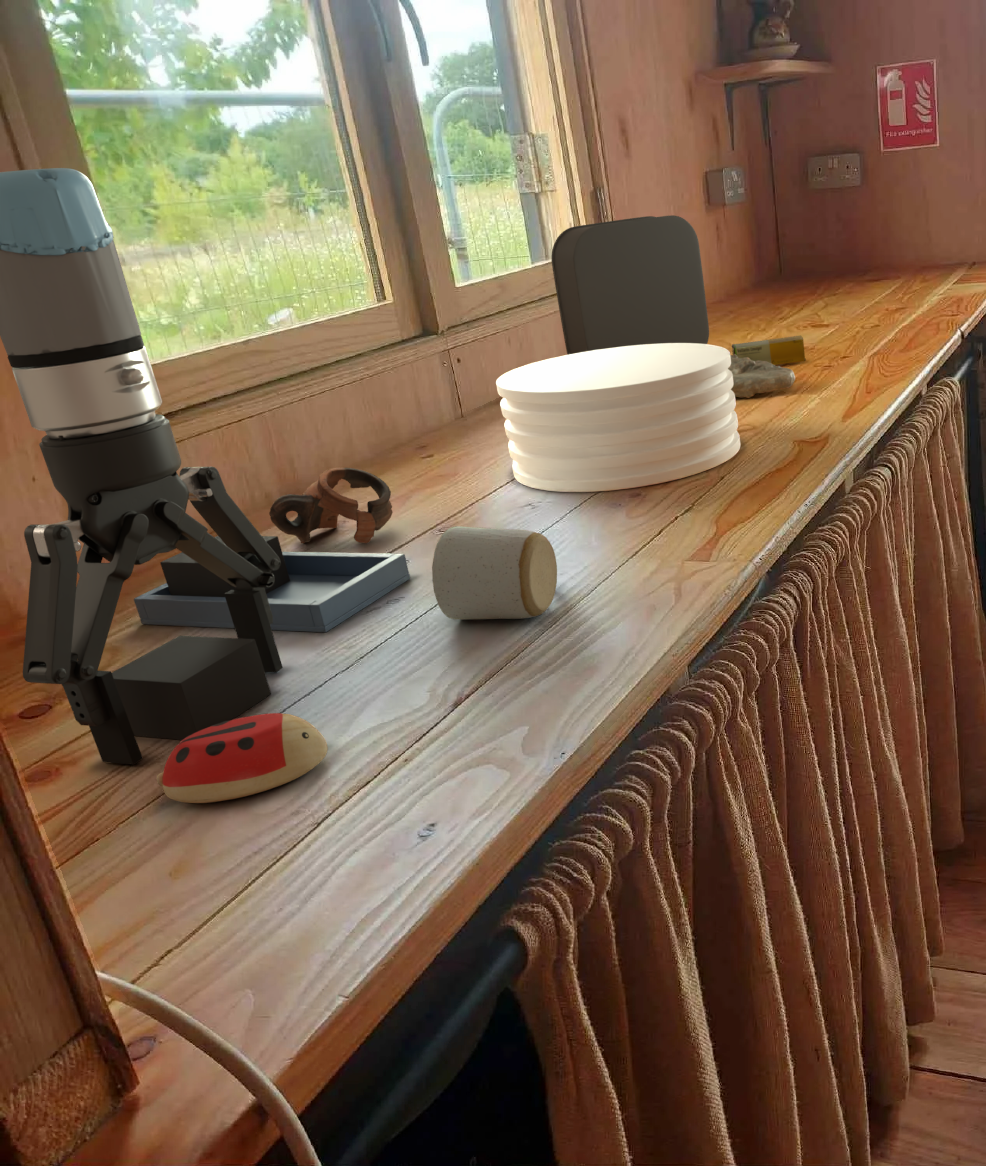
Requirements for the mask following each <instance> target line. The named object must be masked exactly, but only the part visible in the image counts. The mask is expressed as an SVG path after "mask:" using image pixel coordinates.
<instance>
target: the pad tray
mask: <svg viewBox="0 0 986 1166" xmlns="http://www.w3.org/2000/svg"><path fill="white" fill-rule="evenodd" d="M282 553H283V557H284V560H285V564H286V568H287V571H288V575H289V578H290V581H289V582H287V583H285V584H284V585H282V586H280V587H278V588H276V589H275V590H273V591H271V592H269V593H267V594H266V595H267V598H268V602H269V605H270V608H271V612H272V615H273V623H272V624H270V626H271V630H272V631H287V632H288V631H290V632H307V633H308V632H309V633H310V632H311V633H328V632H329V631H331V630H332V629H334V628H335V627H337V626H338V625H339V624H341V623H343V622H345V621H347V619H349V618H351V617H352V616H354V615H355V614H357V613H359V612H360V611H362V610H363V609H365V608H366V607H369V605H371V604H373V603H374V602H376V601H378V600H379V599H380V598H382V597H384V596H385V595H387V594H388V593H389V592H392V591H393V590H395V589H396V588H398V587H400V586H401V585H402V584H405V583H406V582H407V581H409V580H410V579H411V575H410V572H409V567H408V563H407V560H406V559H407V558H406V555H405V553H381V552H330V551H329V552H327V551H326V552H325V551H324V552H323V551H322V552H320V551H282ZM133 602H134V605H135V607H136V610H137V614H138V616H139V620H140V623H141V625H149V626H150V625H153V626H154V625H155V626H175V627H177V626H178V627H196V628H199V627H200V628H217V629H219V628H221V629H235V627H234V624H233V621H232V618H231V615H230V611H229V608H228V605H227V602H226V599H225V597H203V596H173V595H171V594H170V591H169V588H168V585H167V582H165V583H163V584H161V585H159V586H156V587H155V588H152V589H151V590H148V591H147V592H145V593H142V594H140V595H138V596H136V597H133Z"/></svg>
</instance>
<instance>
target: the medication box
mask: <svg viewBox="0 0 986 1166" xmlns="http://www.w3.org/2000/svg"><path fill="white" fill-rule="evenodd" d="M804 343H805V342H804V337H803V336H802V335H794V336H793V335H792V336H786V337H779V338H771V339H764V340H763V339H762V340H756V341H747V342H741V343H732V344H731V353H732V355H734V354H736V355H737V357H738V358H740V359H741V358H744V357H745V358H746V357H748V358H749V359H750V360H752V361H754V362H755V361H767V362H768V363H771V364H773V365H775V366H780V365H786V364H794V363H801V362H802V363H803V362H806V361H807V359H806V353H805V344H804Z"/></svg>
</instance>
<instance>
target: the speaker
mask: <svg viewBox="0 0 986 1166" xmlns="http://www.w3.org/2000/svg"><path fill="white" fill-rule="evenodd" d="M550 257H551V259H550V260H551V267H552V273H553V274H552V275H553V279H554V286H555V287H554V288H555V291H556V298H557V299H556V300H557V304H558V311H559V315H560V322H561V323H560V324H561V328H562V333H563V340H564V345H565V351H566V355H570V354H575V353H580V352H586V351H593V350H599V349H607V348H615V347H623V346H633V345H645V344H661V343H699V344H709V338H710V327H709V325H710V324H709V315H708V306H707V299H706V291H705V281H704V274H703V265H702V257H701V250H700V243H699V239H698V234H697V233H696V231H695V229H694V227H693V226H692V224H691V223H690V222H689V221H688V220H686V219H685V218H684V217H681V216H679V215H672V214H671V215H662V216H653V215H648V216H639V217H631V218H624V219H615V220H610V221H602V222H595V223H588V224H582V225H576V226H571V227H568V228H566V229H565V230H563V231H562V232H561V233H560V234H559V235H558V237H556V239H555V241H554V243H553V246H552V249H551V256H550Z"/></svg>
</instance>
